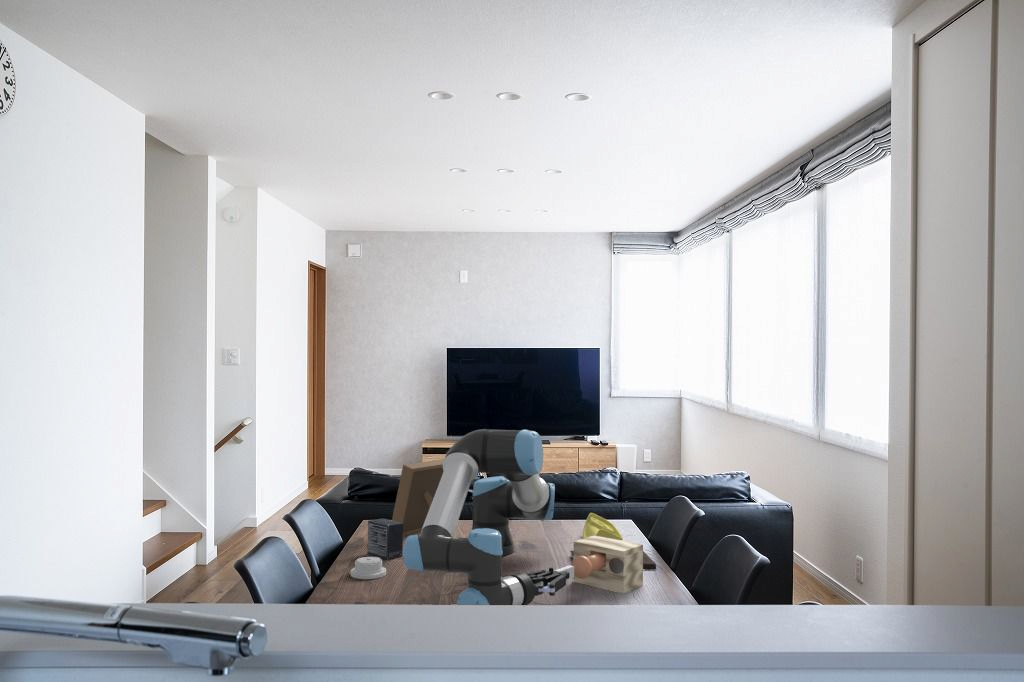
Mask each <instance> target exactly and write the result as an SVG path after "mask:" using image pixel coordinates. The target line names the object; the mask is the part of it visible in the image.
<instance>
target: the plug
mask: <svg viewBox="0 0 1024 682" xmlns="http://www.w3.org/2000/svg"><path fill="white" fill-rule="evenodd" d="M570 566H574V575H575V576H576V577H577V578H580V579H583V578H586V577H588V576H590V574H591V573H592V572H593V571H596V570H598V569H601V568H604V567H606V553H601V552H600V553H597V554H594V555H591V556H588V557H586V556H578V557H575V558H574V559H572V560H571V564H570Z"/></svg>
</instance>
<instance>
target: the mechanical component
mask: <svg viewBox="0 0 1024 682" xmlns="http://www.w3.org/2000/svg"><path fill="white" fill-rule="evenodd" d="M386 575H387V568H386V567H384V566H383V558H380V557H376V556H365V557H358V558H357V559H356V560H355V561H354V567H353V568H352V569H350V577H351V578H353V579H358V580H374V579H379V578H382V577H385V576H386Z"/></svg>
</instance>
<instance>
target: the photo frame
mask: <svg viewBox="0 0 1024 682" xmlns="http://www.w3.org/2000/svg"><path fill="white" fill-rule="evenodd" d="M444 459H445V458H441V459H440V458H439V459H433V460H428V461H425V460H424V461H418V462H414V463H413V462H410V463H406V464H405V463H404V464H402V469H401V474H400V478H399V485H398V489H397V493H396V499H395V502H394V503H395V504H394V506H393V507H394V508H393V512H392V519H391V520H392V521H397V522H401V523H403V537H405V536H410V535H412V534H413V535H414V534H416V533H421V530H422V527H423V525H424V522H425V520H426V517H427V514H428V512H429V509H430V506H431V504H432V501H433V498H434V496H435V493H436V491H437V488H438V485H439V483H440V480H441V477H442V475H443V472H444V470H443V461H444Z"/></svg>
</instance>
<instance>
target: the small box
mask: <svg viewBox="0 0 1024 682" xmlns="http://www.w3.org/2000/svg"><path fill="white" fill-rule="evenodd" d="M403 540H404V536H403V523H401V522H397V521H392V519H387V518H383V517H382V518H377V519H370V520H368V521H367V552H366V553H367V555H371V556H372V557H378V558H380V559H382V560H383V559H384V560H392V559H396V558H400V557H401V558H403V548H404V541H403Z"/></svg>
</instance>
